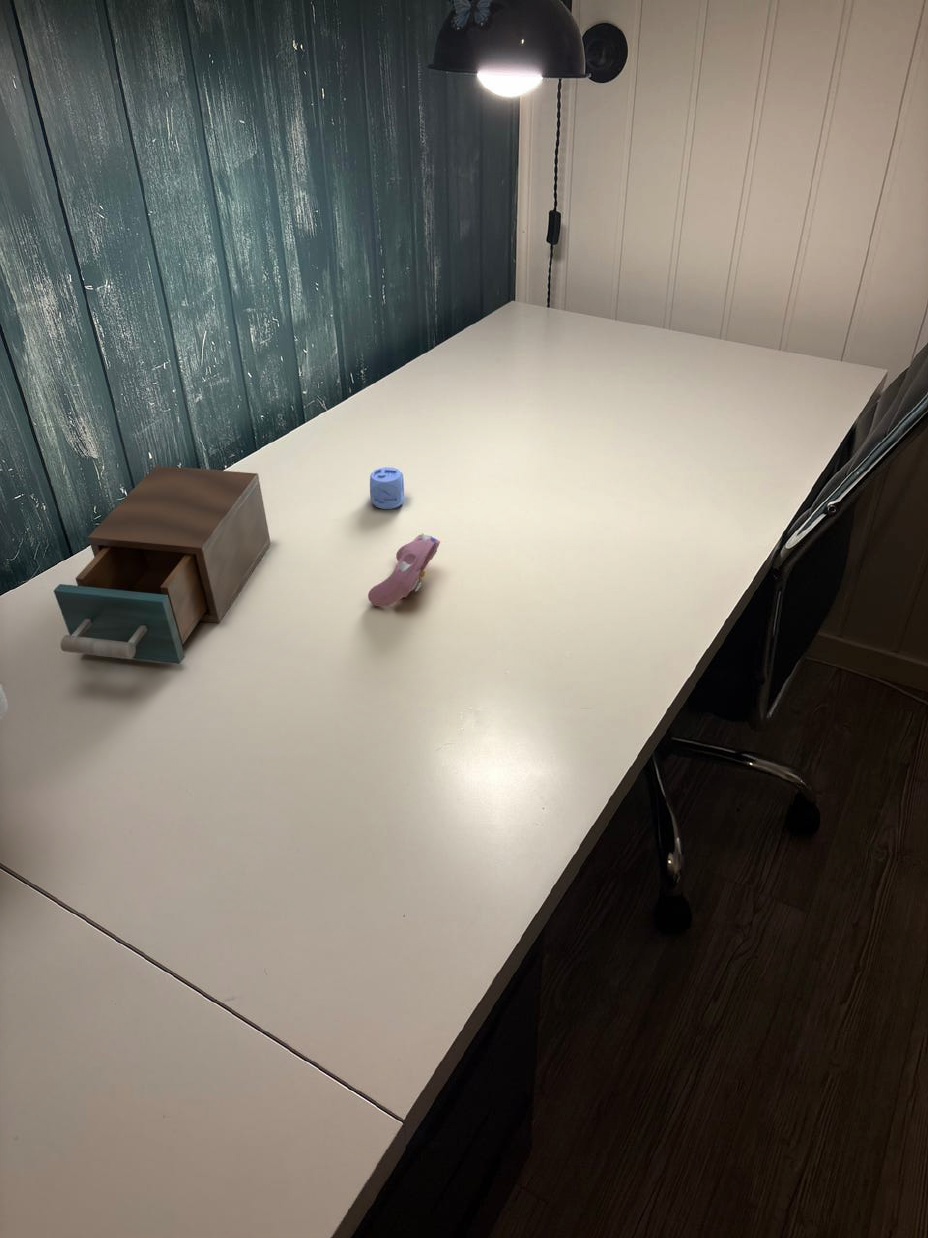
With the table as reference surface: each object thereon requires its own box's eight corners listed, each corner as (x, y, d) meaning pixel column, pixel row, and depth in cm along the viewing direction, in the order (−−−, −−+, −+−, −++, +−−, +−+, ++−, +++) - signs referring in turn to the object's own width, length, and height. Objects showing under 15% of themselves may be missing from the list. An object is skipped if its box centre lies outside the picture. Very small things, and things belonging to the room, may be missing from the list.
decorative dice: (402, 509, 118) (400, 481, 115) (371, 509, 118) (368, 482, 115) (404, 493, 121) (402, 466, 118) (374, 494, 121) (371, 466, 118)
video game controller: (398, 624, 101) (421, 582, 97) (362, 602, 101) (384, 560, 96) (429, 574, 109) (452, 534, 104) (396, 554, 108) (418, 513, 104)
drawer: (160, 693, 89) (141, 630, 85) (52, 680, 91) (28, 617, 86) (235, 581, 104) (222, 522, 99) (141, 572, 106) (124, 513, 101)
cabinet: (219, 623, 100) (201, 547, 94) (111, 611, 102) (87, 537, 96) (271, 544, 112) (258, 473, 106) (173, 535, 114) (155, 465, 108)
